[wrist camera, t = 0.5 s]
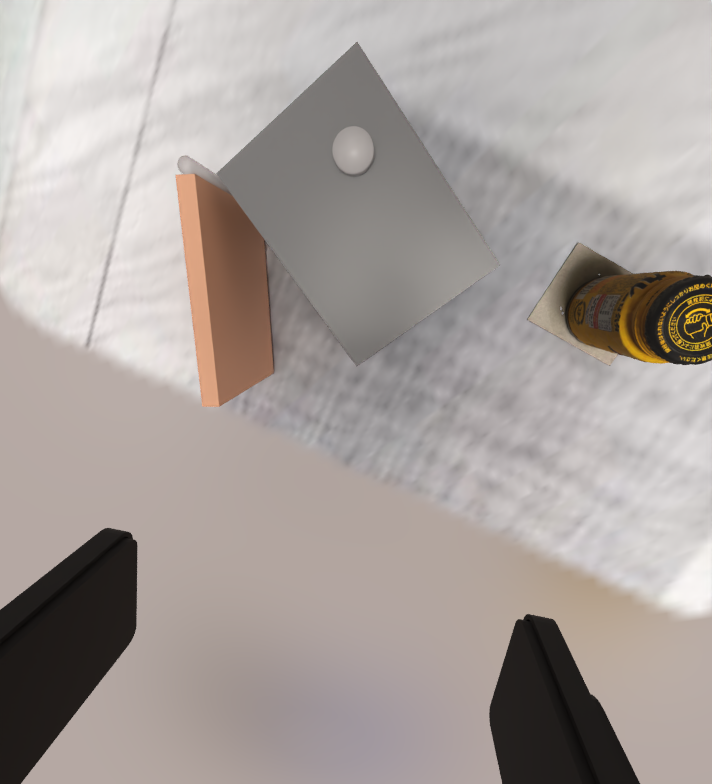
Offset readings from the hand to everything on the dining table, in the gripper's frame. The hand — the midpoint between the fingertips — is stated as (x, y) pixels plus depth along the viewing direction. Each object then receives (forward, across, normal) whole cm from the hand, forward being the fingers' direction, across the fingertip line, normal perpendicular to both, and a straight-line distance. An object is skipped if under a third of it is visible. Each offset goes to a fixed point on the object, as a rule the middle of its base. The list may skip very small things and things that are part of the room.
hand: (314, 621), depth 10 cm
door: (+29, +12, -6) cm, 32 cm away
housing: (+30, +3, -12) cm, 32 cm away
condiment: (+30, -17, -9) cm, 36 cm away
